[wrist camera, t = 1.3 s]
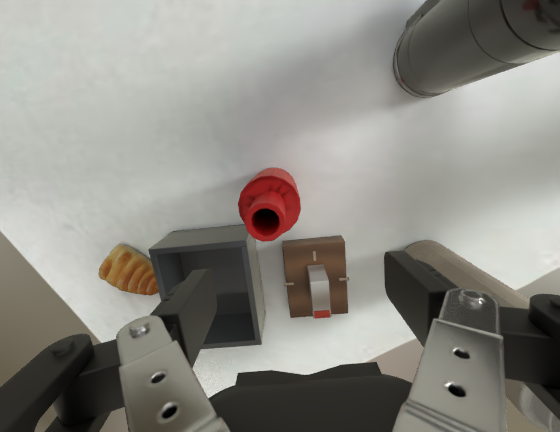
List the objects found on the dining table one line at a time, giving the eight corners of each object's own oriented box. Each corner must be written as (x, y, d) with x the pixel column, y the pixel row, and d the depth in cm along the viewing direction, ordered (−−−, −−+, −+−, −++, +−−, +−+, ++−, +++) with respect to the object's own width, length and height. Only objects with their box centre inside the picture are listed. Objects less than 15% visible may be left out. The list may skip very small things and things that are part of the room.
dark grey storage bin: (172, 231, 40) (148, 249, 33) (253, 223, 40) (246, 240, 33) (192, 318, 44) (173, 351, 37) (265, 312, 44) (261, 344, 36)
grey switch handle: (307, 265, 39) (310, 283, 34) (323, 263, 39) (329, 281, 33) (310, 298, 40) (313, 320, 35) (325, 296, 40) (331, 318, 35)
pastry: (174, 267, 42) (164, 279, 38) (158, 299, 44) (146, 313, 40) (120, 239, 41) (104, 248, 37) (105, 272, 42) (88, 284, 39)
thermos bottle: (440, 289, 42) (721, 546, 15) (391, 283, 42) (586, 531, 15) (455, 243, 40) (812, 444, 13) (404, 236, 40) (656, 425, 13)
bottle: (248, 170, 38) (220, 187, 21) (294, 165, 38) (300, 179, 21) (254, 214, 39) (232, 261, 23) (298, 209, 39) (307, 255, 23)
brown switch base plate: (280, 241, 40) (280, 247, 38) (343, 235, 40) (347, 241, 37) (288, 308, 44) (288, 318, 41) (346, 303, 43) (350, 313, 40)
